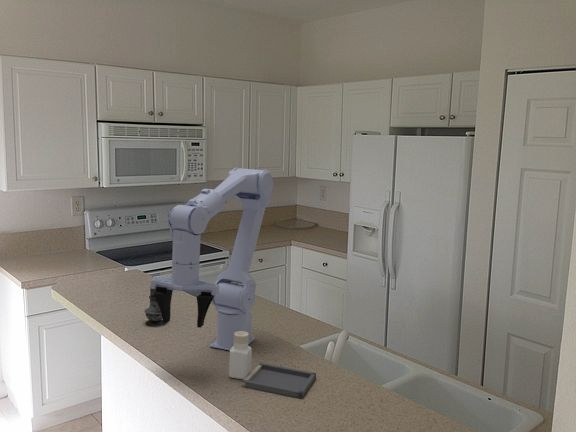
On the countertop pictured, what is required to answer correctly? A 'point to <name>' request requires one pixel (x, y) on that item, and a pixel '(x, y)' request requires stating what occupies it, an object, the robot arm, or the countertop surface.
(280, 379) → the tray
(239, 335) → the pepper shaker
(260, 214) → the robot arm
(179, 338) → the countertop surface
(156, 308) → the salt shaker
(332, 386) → the countertop surface
